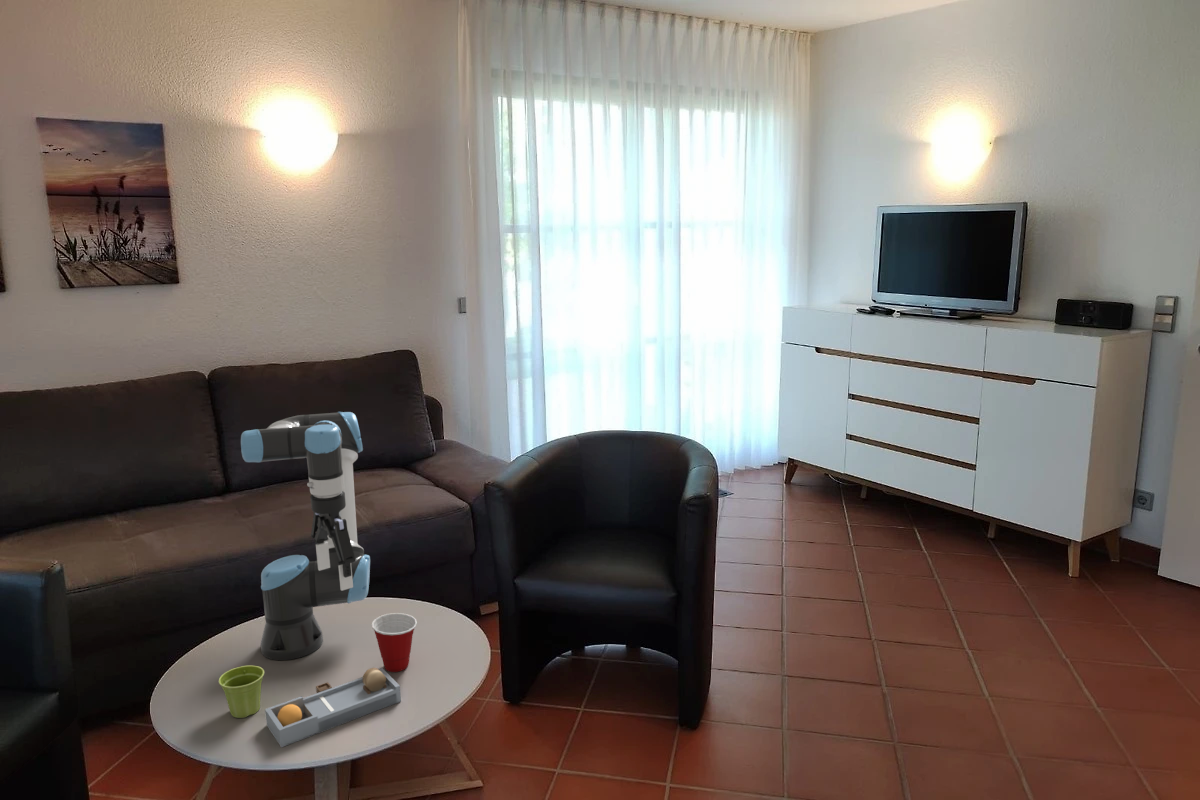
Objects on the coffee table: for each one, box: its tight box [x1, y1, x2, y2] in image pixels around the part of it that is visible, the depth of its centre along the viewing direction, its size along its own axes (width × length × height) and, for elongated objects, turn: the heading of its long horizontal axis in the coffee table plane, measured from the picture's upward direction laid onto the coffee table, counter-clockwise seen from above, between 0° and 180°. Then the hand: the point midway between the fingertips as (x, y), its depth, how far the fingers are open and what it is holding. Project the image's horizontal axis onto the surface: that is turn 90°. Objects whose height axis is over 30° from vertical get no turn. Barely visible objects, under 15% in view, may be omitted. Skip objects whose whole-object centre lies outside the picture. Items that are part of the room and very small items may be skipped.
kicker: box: [362, 667, 387, 694], centre depth 191 cm, size 3×4×4 cm
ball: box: [277, 704, 302, 727], centre depth 181 cm, size 5×5×5 cm
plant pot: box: [218, 665, 265, 719], centre depth 187 cm, size 9×9×9 cm
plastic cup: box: [371, 612, 418, 673], centre depth 205 cm, size 11×11×12 cm
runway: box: [264, 667, 402, 748], centre depth 186 cm, size 10×27×4 cm, turn 128°
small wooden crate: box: [315, 682, 333, 694], centre depth 193 cm, size 3×3×3 cm
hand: (335, 578), depth 195 cm, fingers open, 13 cm apart
